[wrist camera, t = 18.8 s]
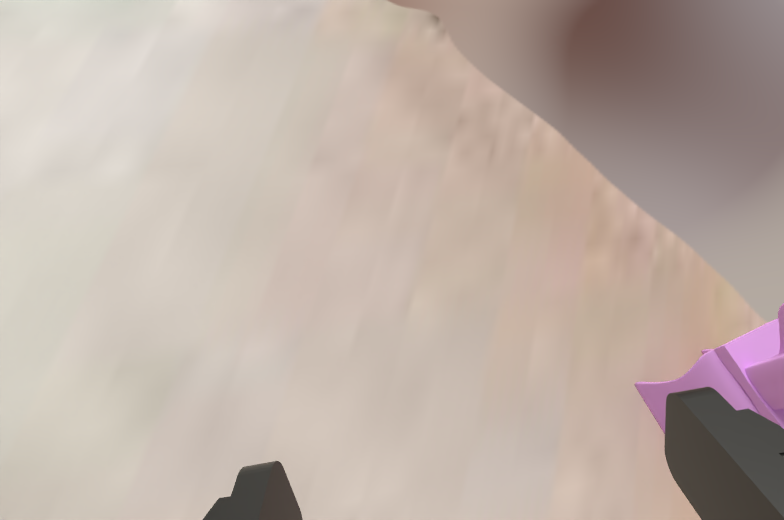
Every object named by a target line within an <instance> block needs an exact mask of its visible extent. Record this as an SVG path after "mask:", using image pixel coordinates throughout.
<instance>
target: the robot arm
mask: <svg viewBox="0 0 784 520" xmlns="http://www.w3.org/2000/svg"><path fill="white" fill-rule="evenodd" d="M665 456H666V460H667V463H668V466H669V469H670V471H671V474H672V476H673V478H674V480H675V481H676V483H677V484H678V486H679V487H680V489H681V490H682V492H683V493H684V495H685V496H686V497H687V499H688V500H689V502H690V503H691V505H692V506H693V508H694V509H695V511H696V512H697V513H698V515H699V516H700V518H701V519H702V520H784V429H783V428H782V427H781V426H779V425H778V424H776V423H774V422H772V421H770V420H769V419H767V418H765V417H763V416H761V415H759V414H758V413H756V412H754V411H752V410H750V409H743V410H737V411H736V410H735V409H734V408H733V407H732V406H731V405H730V404H729V403H728V402H727V401H726V400H725V399H724V398H723V397H722V396H721V395H720V394H719V393H718V392H717V391H716V390H715V389H713V388H711V387H703V388H697V389H691V390H685V391H680V392H674V393H669V394H668V396H667V398H666V417H665ZM203 520H302V515H301V511H300V508H299V506H298V503H297V501H296V498H295V496H294V493H293V491H292V488H291V486H290V483H289V481H288V478H287V476H286V473H285V471H284V468H283V466H282V464H281V463H280V462H279V461H275V462H269V463H263V464H258V465H252V466H246V467H243V468H242V469H241V470H240V472H239V474H238V476H237V479H236V482H235V485H234V488H233V491H232V494H231V496H230V497H224V498H219V499H218V500H217V501H216V503H215V504H214V505H213V507H212V508H211V509H210V511H209V512H208V513H207V515H206V516H205V517H204V519H203Z"/></svg>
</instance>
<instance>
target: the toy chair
mask: <svg viewBox="0 0 784 520" xmlns="http://www.w3.org/2000/svg"><path fill="white" fill-rule="evenodd" d="M702 353H703V355H702V356H701V357H700V358H699V360H698V361H697V362H696V363H695V364H694V365H693V367H692V368H691V369H690V370H689V371H688V372H687V373H686V374H684V375H683V376H682V377H680V378H678V379H676V380H672V381H667V382H637V383H635V386H636V388H637V390H638V391H639V393H640V394H641V396H642V398H643V399H644V401H645V403H646V404H647V406H648V407H649V409H650V411H651V412H652V414H653V416H654V417H655V419H656V420H657V422H658V424H659V425H660V427H661V429H662V430H663V432H664V433H665V417H666V398H667V396H668V394H669V393H674V392H680V391H685V390H691V389H697V388H703V387H711V388H713V389H715V390H716V391H717V392H718V393H719V394H720V395H721V396H722V397H723V398H724V399H725V400H726V401H727V402H728V403H729V404H730V405H731V406H732V407H733V408H734V409H735V410H736V411H737V410H743V409H750V410H752V411H754V412H756V413H758V414H759V415H761V416H763V417H765V418H767V419H769V420H770V421H772V422H774V423H776V424H778V425H779V426H781V427H782V428H783V429H784V303H783V304H782V305H781V307H780V308H779V311H778V319H775V320H773V321H771V322H768V323H765V324H764V325H762V326H760V327H758V328H756V329H754V330H752V331H750V332H748V333H746V334H744V335H742V336H740V337H738V338H736V339H734V340H732V341H730V342H728V343H726V344H724V345H722V346H720V347H717V348H715V349H704V350H702Z"/></svg>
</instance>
